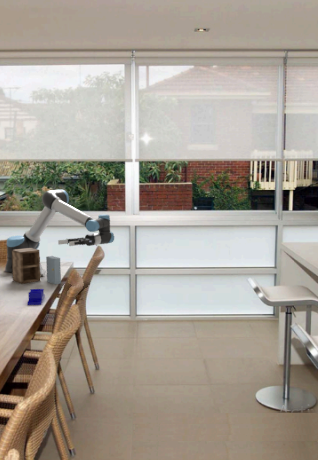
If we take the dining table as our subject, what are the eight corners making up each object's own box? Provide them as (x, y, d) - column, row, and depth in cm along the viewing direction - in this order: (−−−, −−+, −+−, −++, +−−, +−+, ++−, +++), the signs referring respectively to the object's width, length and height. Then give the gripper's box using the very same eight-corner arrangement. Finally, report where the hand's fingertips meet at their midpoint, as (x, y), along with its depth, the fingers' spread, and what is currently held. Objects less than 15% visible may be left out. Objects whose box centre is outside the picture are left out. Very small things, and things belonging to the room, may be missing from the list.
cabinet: (12, 280, 379) (11, 249, 376) (31, 277, 388) (30, 247, 385) (21, 284, 370) (20, 252, 367) (41, 280, 379) (40, 249, 376)
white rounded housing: (43, 276, 391) (38, 262, 389) (37, 279, 390) (31, 265, 389) (45, 271, 407) (40, 258, 406) (39, 274, 407) (33, 260, 405)
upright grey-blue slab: (45, 281, 376) (45, 256, 374) (52, 280, 379) (51, 255, 377) (54, 284, 369) (53, 258, 367) (60, 283, 372) (60, 258, 370)
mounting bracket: (41, 305, 320) (40, 294, 319) (27, 305, 319) (27, 294, 319) (44, 297, 338) (44, 287, 337) (32, 297, 337) (31, 287, 336)
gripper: (103, 246, 381) (74, 250, 368) (82, 244, 400) (54, 247, 387) (102, 235, 380) (73, 238, 367) (82, 232, 400) (54, 236, 386)
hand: (63, 243), depth 377 cm, fingers open, 13 cm apart
